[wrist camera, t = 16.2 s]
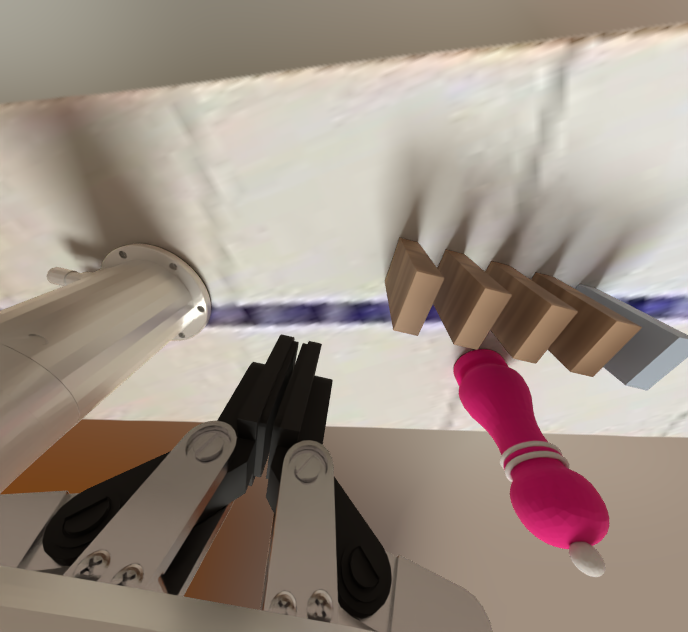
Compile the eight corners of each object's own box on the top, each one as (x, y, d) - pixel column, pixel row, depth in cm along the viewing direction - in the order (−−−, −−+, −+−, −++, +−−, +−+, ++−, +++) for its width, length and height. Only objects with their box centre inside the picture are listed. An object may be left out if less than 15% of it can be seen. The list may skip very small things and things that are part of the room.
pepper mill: (441, 382, 35) (514, 585, 18) (460, 341, 32) (574, 545, 14) (492, 390, 35) (614, 600, 18) (517, 349, 32) (699, 564, 15)
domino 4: (509, 312, 29) (570, 371, 21) (535, 272, 27) (617, 321, 18) (525, 316, 29) (592, 376, 21) (553, 276, 27) (642, 327, 18)
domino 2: (427, 291, 29) (453, 344, 20) (445, 249, 26) (485, 288, 18) (443, 296, 29) (477, 349, 20) (464, 254, 26) (512, 295, 18)
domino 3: (468, 302, 29) (512, 358, 20) (491, 260, 27) (552, 304, 18) (485, 306, 29) (535, 363, 21) (509, 265, 27) (578, 311, 18)
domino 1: (384, 281, 29) (393, 330, 20) (399, 237, 26) (416, 271, 17) (401, 285, 29) (417, 335, 20) (418, 242, 26) (444, 278, 18)
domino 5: (549, 322, 30) (625, 385, 21) (579, 283, 27) (679, 337, 18) (565, 326, 30) (647, 390, 21) (596, 288, 27) (703, 343, 19)
